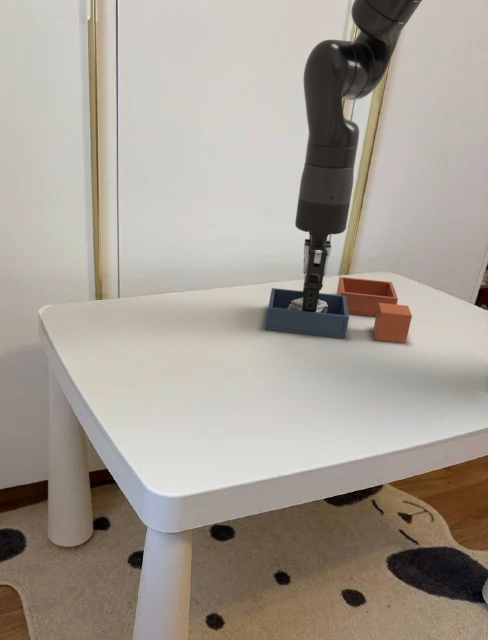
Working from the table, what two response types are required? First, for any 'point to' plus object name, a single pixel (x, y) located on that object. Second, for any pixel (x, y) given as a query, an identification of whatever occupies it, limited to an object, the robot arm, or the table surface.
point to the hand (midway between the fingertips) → (308, 304)
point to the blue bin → (307, 315)
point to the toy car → (297, 304)
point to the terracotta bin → (366, 295)
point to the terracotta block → (392, 322)
